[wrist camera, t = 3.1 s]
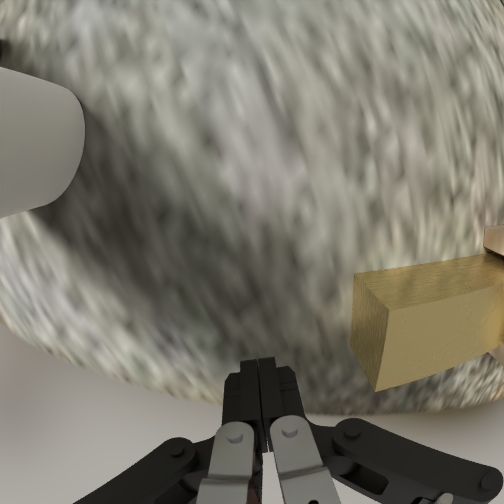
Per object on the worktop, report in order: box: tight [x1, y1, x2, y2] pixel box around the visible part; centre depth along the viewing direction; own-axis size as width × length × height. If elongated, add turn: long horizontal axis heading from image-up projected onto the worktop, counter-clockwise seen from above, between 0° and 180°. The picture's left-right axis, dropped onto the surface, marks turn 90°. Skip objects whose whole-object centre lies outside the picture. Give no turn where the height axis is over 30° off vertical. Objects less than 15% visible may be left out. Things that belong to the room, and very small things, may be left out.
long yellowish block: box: [350, 252, 504, 392], centre depth 13 cm, size 4×18×4 cm, turn 95°
